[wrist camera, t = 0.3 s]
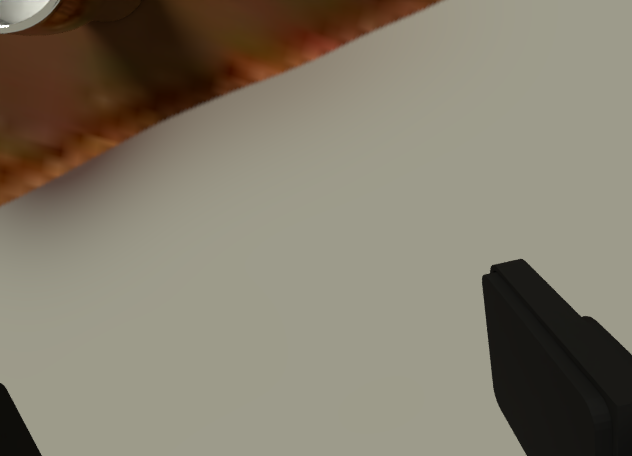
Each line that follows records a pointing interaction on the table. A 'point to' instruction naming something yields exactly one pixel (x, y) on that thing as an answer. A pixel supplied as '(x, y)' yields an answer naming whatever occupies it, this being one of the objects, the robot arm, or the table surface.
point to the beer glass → (58, 15)
